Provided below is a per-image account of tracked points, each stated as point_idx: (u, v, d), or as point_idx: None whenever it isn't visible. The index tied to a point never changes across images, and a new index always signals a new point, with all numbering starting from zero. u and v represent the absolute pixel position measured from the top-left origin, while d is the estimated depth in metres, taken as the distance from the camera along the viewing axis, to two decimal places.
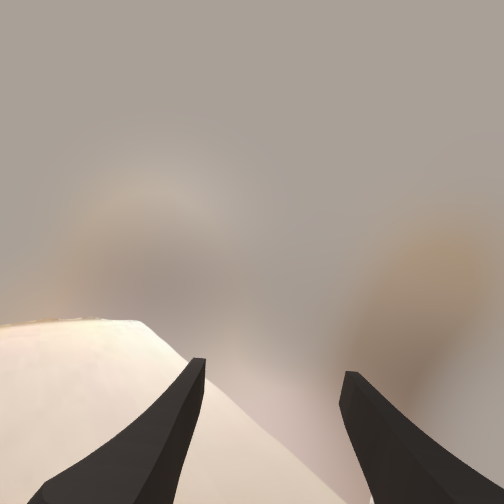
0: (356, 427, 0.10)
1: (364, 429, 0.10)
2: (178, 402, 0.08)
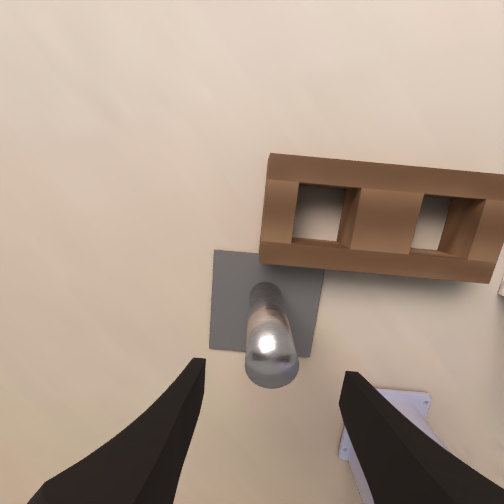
0: (356, 427, 0.10)
1: (364, 429, 0.10)
2: (178, 402, 0.08)
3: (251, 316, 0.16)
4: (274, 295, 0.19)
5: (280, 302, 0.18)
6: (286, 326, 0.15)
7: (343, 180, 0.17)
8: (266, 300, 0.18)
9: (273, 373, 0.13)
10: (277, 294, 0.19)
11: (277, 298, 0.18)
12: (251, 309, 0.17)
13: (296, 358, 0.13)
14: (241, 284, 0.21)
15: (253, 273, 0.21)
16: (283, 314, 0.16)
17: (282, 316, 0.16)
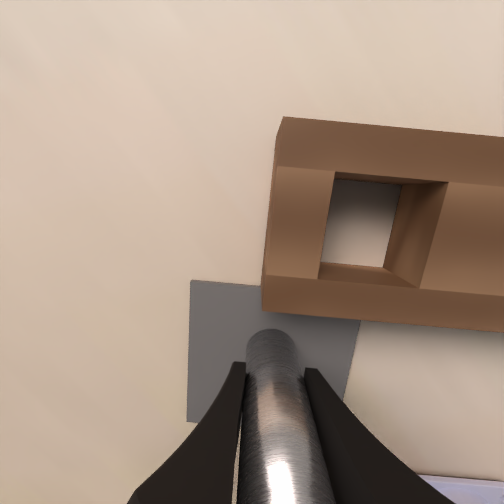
0: None
1: None
2: (234, 407, 0.08)
3: (248, 417, 0.09)
4: (287, 362, 0.11)
5: (298, 378, 0.11)
6: (317, 459, 0.07)
7: (416, 167, 0.09)
8: (275, 377, 0.10)
9: None
10: (291, 357, 0.12)
11: (291, 370, 0.11)
12: (248, 394, 0.10)
13: None
14: (233, 332, 0.14)
15: (252, 315, 0.14)
16: (307, 415, 0.09)
17: (306, 425, 0.08)
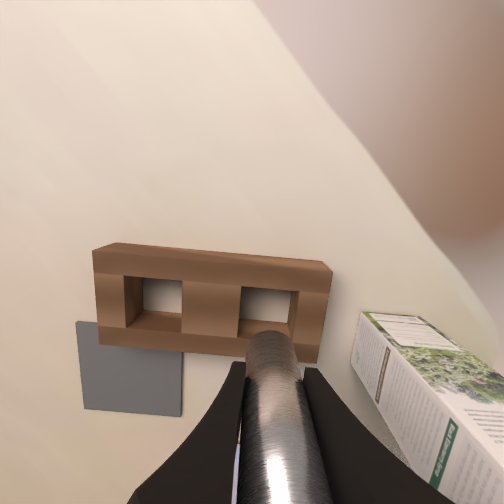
0: None
1: (315, 425, 0.10)
2: (234, 407, 0.08)
3: (253, 412, 0.09)
4: (291, 365, 0.11)
5: (300, 383, 0.11)
6: (320, 463, 0.08)
7: (163, 274, 0.18)
8: (281, 378, 0.10)
9: None
10: (294, 361, 0.12)
11: (296, 374, 0.11)
12: (252, 390, 0.10)
13: None
14: (105, 352, 0.23)
15: None
16: (310, 420, 0.09)
17: (310, 429, 0.09)
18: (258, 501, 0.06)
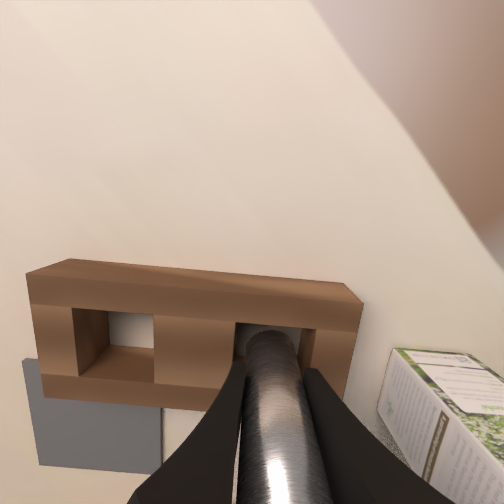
0: None
1: (315, 425, 0.10)
2: (234, 407, 0.08)
3: (253, 412, 0.09)
4: (291, 365, 0.11)
5: (300, 383, 0.11)
6: (320, 463, 0.08)
7: (127, 305, 0.13)
8: (281, 378, 0.10)
9: None
10: (294, 361, 0.12)
11: (296, 374, 0.11)
12: (252, 390, 0.10)
13: None
14: None
15: None
16: (310, 420, 0.09)
17: (310, 429, 0.09)
18: (258, 501, 0.06)
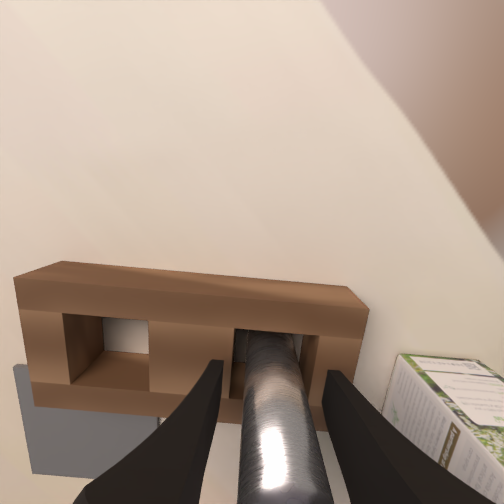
0: (335, 425, 0.10)
1: (342, 427, 0.10)
2: (203, 404, 0.08)
3: (253, 386, 0.10)
4: (288, 348, 0.13)
5: (296, 363, 0.12)
6: (312, 425, 0.09)
7: (121, 311, 0.12)
8: (278, 358, 0.12)
9: None
10: (290, 345, 0.13)
11: (292, 356, 0.12)
12: (253, 368, 0.11)
13: None
14: None
15: None
16: (303, 392, 0.10)
17: (303, 398, 0.10)
18: (258, 450, 0.08)
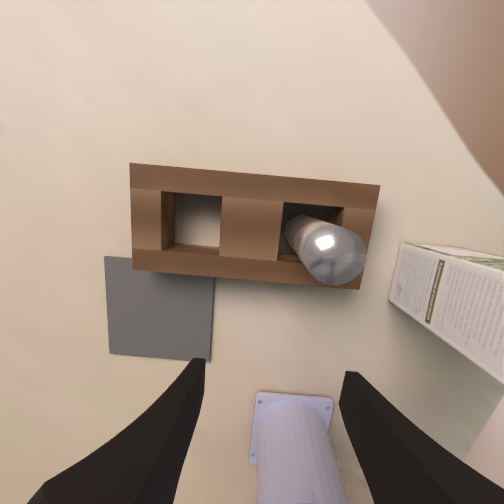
0: (356, 427, 0.10)
1: (364, 429, 0.10)
2: (178, 402, 0.08)
3: (302, 226, 0.15)
4: None
5: None
6: None
7: (203, 188, 0.17)
8: None
9: (335, 266, 0.12)
10: None
11: None
12: (299, 224, 0.16)
13: (364, 253, 0.12)
14: (134, 290, 0.22)
15: (145, 279, 0.21)
16: None
17: None
18: (316, 230, 0.12)
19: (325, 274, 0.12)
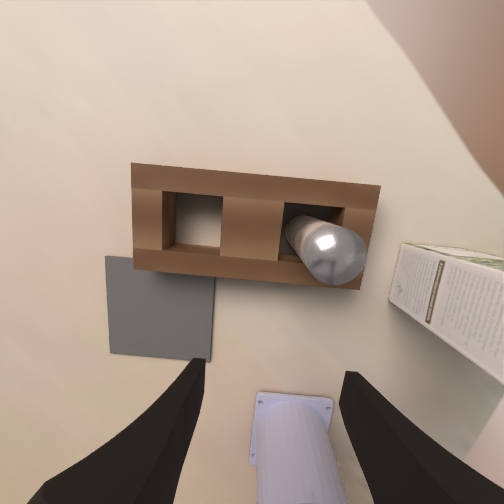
0: (356, 427, 0.10)
1: (364, 429, 0.10)
2: (178, 402, 0.08)
3: (303, 226, 0.15)
4: None
5: None
6: None
7: (204, 188, 0.17)
8: (317, 219, 0.17)
9: (335, 266, 0.12)
10: None
11: None
12: (299, 224, 0.16)
13: (365, 253, 0.12)
14: (135, 289, 0.22)
15: (145, 278, 0.21)
16: None
17: None
18: (316, 229, 0.13)
19: (326, 274, 0.12)
